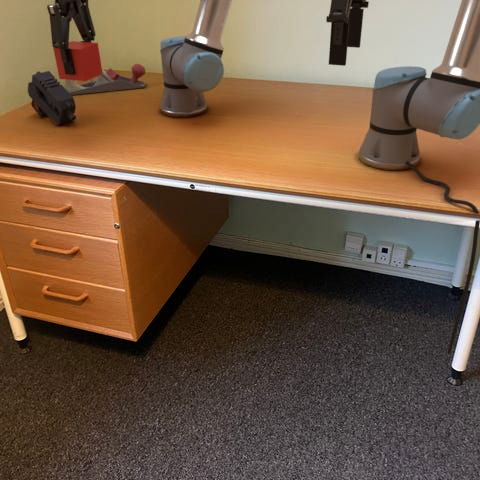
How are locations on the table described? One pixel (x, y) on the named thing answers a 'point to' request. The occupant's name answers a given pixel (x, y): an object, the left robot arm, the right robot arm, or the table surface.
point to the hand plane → (107, 82)
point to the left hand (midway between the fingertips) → (80, 70)
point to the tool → (51, 98)
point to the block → (81, 61)
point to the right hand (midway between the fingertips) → (345, 55)
